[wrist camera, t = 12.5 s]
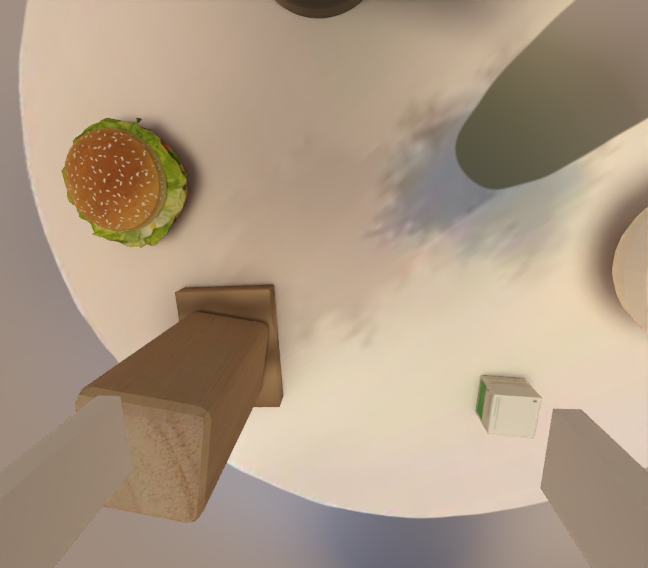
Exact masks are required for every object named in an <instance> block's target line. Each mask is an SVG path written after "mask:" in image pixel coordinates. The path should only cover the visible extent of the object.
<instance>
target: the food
mask: <svg viewBox="0 0 648 568" xmlns="http://www.w3.org/2000/svg"><path fill="white" fill-rule="evenodd" d="M136 119H137V122H136V123H131V122H125V121H120V120H115V119H110V118H105V119H103V120H101V121H100V122H99V123H96V124H93V125H91V126H89V127H88V128H86V129H85V130H84V132H83V133H82V134H81V135H79V136H78V137H77V138H75V139H74V140H73V145H72V147H71V148H70V151H69V153H68V155H67V159H66V162H65V167H64V168H63V170H62V174H63V177H64V181H65V184H66V188H67V190H68V192H67V197H68V200H69V202H70V203H72V204H74V205H75V206H76V208H77V211H78V213H79V217H80V218H82V219H84V220H86V221H88V222H89V223H90V224H91V225H92V228H93V230H94V233H93V235H96V236H99V237H104V238H105V239H107V240H111V241H117V242H120V243H122V244H123V245H125V246H127V247H136V246H139V247H141V248H142V247H143V246H144V245H146V244H148V245H151V246H154V245H156V244H157V243H158V242H159V241H160V240H161V239H162V238H163V237H164V236H165V235H166V234H167V233H168V229H169V227H170V226H171V224H172V223H173V222H174V221H176V218H177V217H178V216H179V215H180V214H181V212H182V210H183V207H184V204H185V201H186V198H187V194H188V188H187V177H188V175H189V174H186V172H185V170H184V167H183V165H182V163H181V161H180V159H179V157H178V156H177V155H176V153H175V152H174V151H173V150H172V149H171V148H170V147H169V146H168V145H167V144H165V143H164V142H163V141H162V139H161V138H159V137H158V136H157V135H156V134H154V133H153V132H152V131H151V130H149V129H146V128H142V127H140V126H139V125H138V123H139V122H140V121H141V120H142V119H140V118H136Z"/></svg>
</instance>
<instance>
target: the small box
mask: <svg viewBox="0 0 648 568" xmlns="http://www.w3.org/2000/svg"><path fill="white" fill-rule="evenodd" d="M541 400H542V397H541V396H540V395H539V394H538V393H537V392H536V391H535V390H534V389H533V388H532V387H531V386H530V385H529V384H528V382H527V381H526V380H525V379H522V378H509V377H496V376H483V375H482V376H481V381H480V388H479V395H478V401H477V407H476V413H477V415H478V417H479V419H480V421H481V422H482V424H483V426H484V428H485V429H486V431H487V433H488V434H494V435H504V436H516V437H525V438H534V436H535V431H536V426H537V420H538V415H539V410H540V405H541Z"/></svg>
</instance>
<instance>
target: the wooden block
mask: <svg viewBox="0 0 648 568" xmlns="http://www.w3.org/2000/svg"><path fill="white" fill-rule="evenodd" d="M267 340H268V328H267V325H266V324H264V323H260V322H255V321H249V320H243V319H237V318H231V317H225V316H219V315H213V314H208V313H202V312H194V313H191V314H190V315H188V316H187V317H185V318H184V319H183V320H181V321H180V322H178V323H177V324H175V325H174V326H172V327H171V328H170V329H168V330H167V331H165V332H164V333H162V334H161V335H159V336H158V337H157V338H155V339H154V340H152V341H151V342H149V343H148V344H146V345H145V346H144V347H142V348H141V349H139V350H138V351H136V352H135V353H133V354H132V355H131V356H129V357H128V358H126V359H125V360H123V361H122V362H120V363H119V364H118V365H116V366H115V367H113V368H112V369H110V370H109V371H107V372H106V373H105V374H103V375H102V376H100V377H99V378H98V379H96V380H94V381H93V382H92V383H90V384H89V385H87V386H86V387H84V388H83V389H82V391H81V392H80V393H79V395H78V398H77V400H76V412H77V411H78V410H80V409H81V408H82V407H84V406H85V405H86V404H87V403H89V402H90V401H91V400H92V399H94V398H95V397H96V396H98V395H101V396H120V397H121V402H122V408H123V413H124V419H125V424H126V430H127V435H128V441H129V446H130V452H131V457H132V463H133V468H134V469H133V470H132V471H131V473H130V474H129V475H128V476H127V477H126V479H125V480H124V481H123V482H122V484H121V485H120V486H119V487H118V489H117V490H116V491H115V492H114V494H113V495H112V496H111V497H110V499H109V500H108V501H107V502H106V504H105V505H104V506H103V507H108V508H113V509H119V510H124V511H129V512H134V513H139V514H144V515H149V516H154V517H160V518H165V519H170V520H175V521H180V522H186V523H188V522H194V521H196V520H197V519H198V518H199V517H200V515H201V514H202V512H203V510H204V509H205V506H206V504H207V502H208V500H209V498H210V496H211V494H212V492H213V490H214V488H215V486H216V484H217V481H218V479H219V477H220V475H221V473H222V471H223V469H224V467H225V465H226V463H227V461H228V459H229V456H230V454H231V452H232V450H233V448H234V446H235V444H236V442H237V440H238V438H239V436H240V434H241V431H242V429H243V427H244V425H245V423H246V421H247V419H248V417H249V415H250V413H251V411H252V409H253V406H254V404H255V402H256V400H257V398H258V396H259V394H260V392H261V390H262V381H263V373H264V365H265V356H266V348H267Z"/></svg>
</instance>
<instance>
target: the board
mask: <svg viewBox="0 0 648 568" xmlns="http://www.w3.org/2000/svg"><path fill="white" fill-rule="evenodd" d="M175 295H176V302H177V309H178V316H179V322H180V321H181V320H183V319H184V318H185V317H187V316H188V315H190V314H191V313H194V312H202V313H208V314H213V315H219V316H225V317H231V318H237V319H243V320H249V321H255V322H260V323H264V324H266V325H267V328H268V340H267V348H266V356H265V365H264V373H263V381H262V390H261V392H260V394H259V396H258V398H257V400H256V402H255V404H254V406H253V407H280V404H281V401H282V398H283V390H282V378H281V366H280V354H279V342H278V330H277V318H276V306H275V294H274V285H257V286H225V287H193V288H183V289H181V290H179V291H177V292H175Z"/></svg>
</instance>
